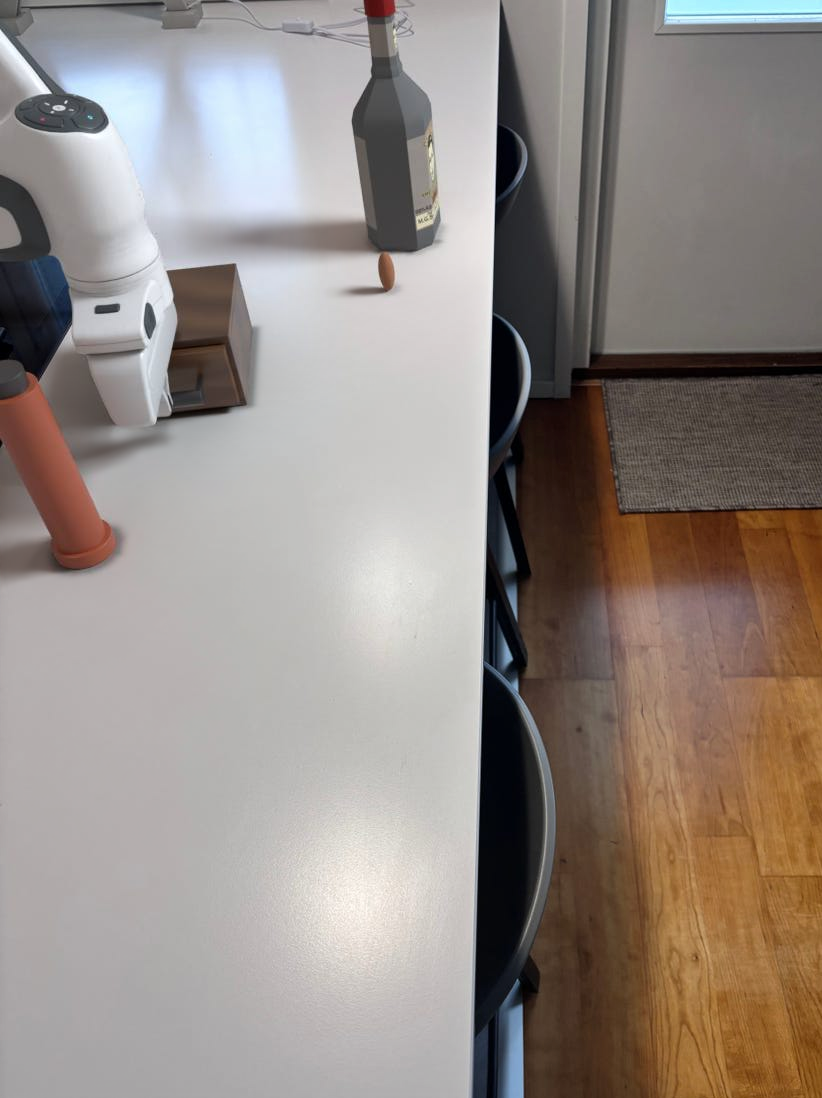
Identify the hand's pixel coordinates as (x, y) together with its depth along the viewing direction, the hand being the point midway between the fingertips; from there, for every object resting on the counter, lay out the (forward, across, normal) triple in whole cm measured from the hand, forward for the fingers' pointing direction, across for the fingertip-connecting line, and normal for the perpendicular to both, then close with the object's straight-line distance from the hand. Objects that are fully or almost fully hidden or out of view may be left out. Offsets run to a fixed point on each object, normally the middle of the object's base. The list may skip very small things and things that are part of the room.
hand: (164, 411), depth 102 cm
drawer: (+4, -10, 0) cm, 11 cm away
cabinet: (+5, -14, 0) cm, 15 cm away
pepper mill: (+5, +15, -7) cm, 17 cm away
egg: (+5, -29, +24) cm, 38 cm away
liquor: (+4, -43, +26) cm, 51 cm away
